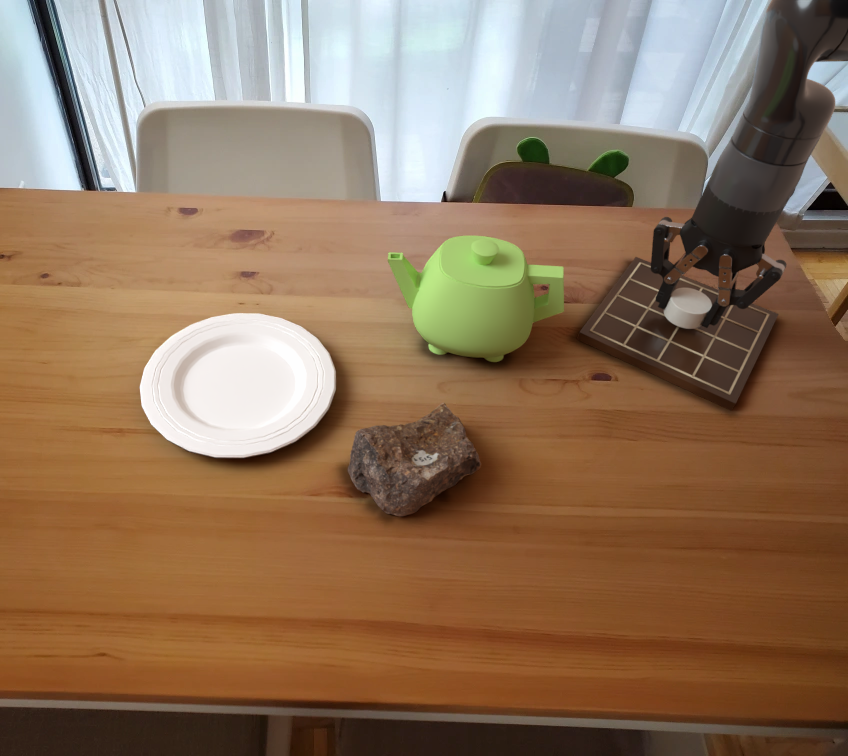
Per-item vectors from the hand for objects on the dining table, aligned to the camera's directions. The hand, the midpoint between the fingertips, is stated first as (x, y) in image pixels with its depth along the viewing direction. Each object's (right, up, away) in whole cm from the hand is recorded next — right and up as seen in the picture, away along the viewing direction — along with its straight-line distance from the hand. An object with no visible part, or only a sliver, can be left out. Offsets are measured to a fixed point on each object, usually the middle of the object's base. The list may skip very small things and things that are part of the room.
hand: (684, 313), depth 84 cm
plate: (-51, -9, -6) cm, 52 cm away
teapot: (-26, -2, +1) cm, 26 cm away
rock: (-33, -17, -12) cm, 39 cm away
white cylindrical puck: (0, 0, 0) cm, 0 cm away
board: (0, -2, +2) cm, 3 cm away
